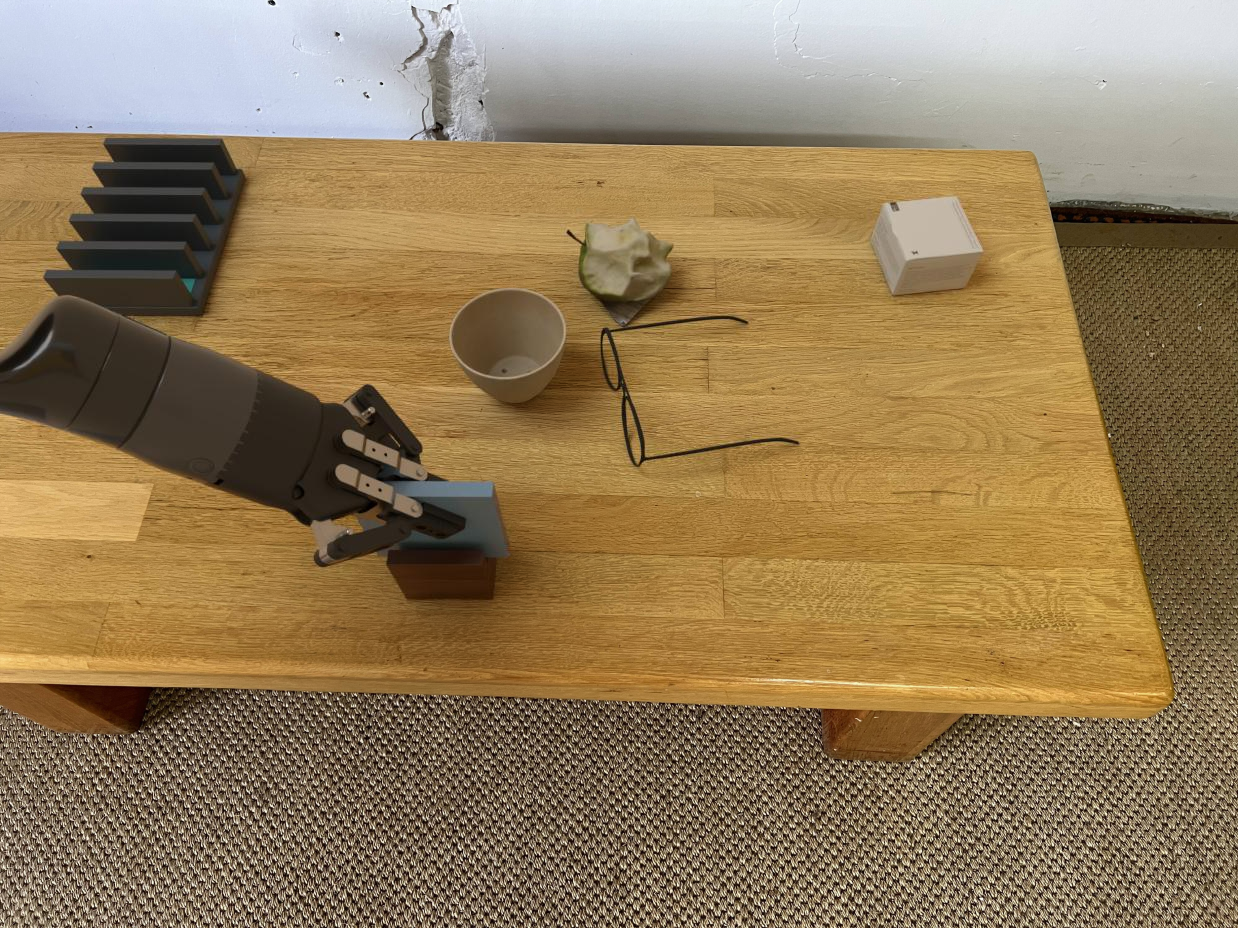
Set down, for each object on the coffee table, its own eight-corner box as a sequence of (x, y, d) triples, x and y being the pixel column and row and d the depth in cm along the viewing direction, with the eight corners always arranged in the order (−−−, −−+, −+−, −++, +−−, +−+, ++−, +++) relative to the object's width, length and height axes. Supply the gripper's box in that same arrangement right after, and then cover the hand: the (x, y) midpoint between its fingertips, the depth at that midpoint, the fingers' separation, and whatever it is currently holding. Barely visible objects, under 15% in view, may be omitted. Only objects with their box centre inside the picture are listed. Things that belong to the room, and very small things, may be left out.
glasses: (596, 352, 82) (601, 317, 77) (743, 333, 85) (755, 298, 81) (635, 481, 75) (643, 450, 70) (793, 454, 78) (810, 423, 74)
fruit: (560, 304, 86) (548, 235, 80) (621, 257, 90) (614, 188, 84) (631, 339, 82) (624, 269, 76) (691, 288, 86) (689, 218, 80)
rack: (202, 316, 84) (178, 279, 79) (67, 315, 84) (36, 278, 79) (246, 177, 93) (227, 137, 89) (125, 176, 93) (100, 136, 89)
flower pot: (591, 392, 79) (589, 343, 73) (496, 444, 76) (486, 398, 70) (534, 321, 83) (527, 270, 77) (442, 368, 81) (428, 319, 74)
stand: (493, 600, 69) (481, 565, 63) (405, 599, 69) (385, 564, 63) (498, 543, 72) (487, 504, 66) (413, 542, 72) (395, 503, 66)
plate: (508, 557, 67) (492, 496, 58) (378, 556, 67) (343, 496, 58) (509, 543, 67) (493, 481, 59) (380, 542, 67) (346, 480, 59)
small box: (967, 289, 86) (986, 252, 81) (890, 297, 85) (905, 260, 81) (941, 232, 89) (958, 194, 85) (868, 239, 89) (881, 201, 84)
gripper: (221, 357, 57) (440, 453, 68) (165, 545, 50) (419, 619, 61) (274, 304, 52) (500, 417, 63) (221, 504, 46) (484, 592, 56)
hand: (459, 516), depth 62 cm, fingers closed on plate, 1 cm apart
